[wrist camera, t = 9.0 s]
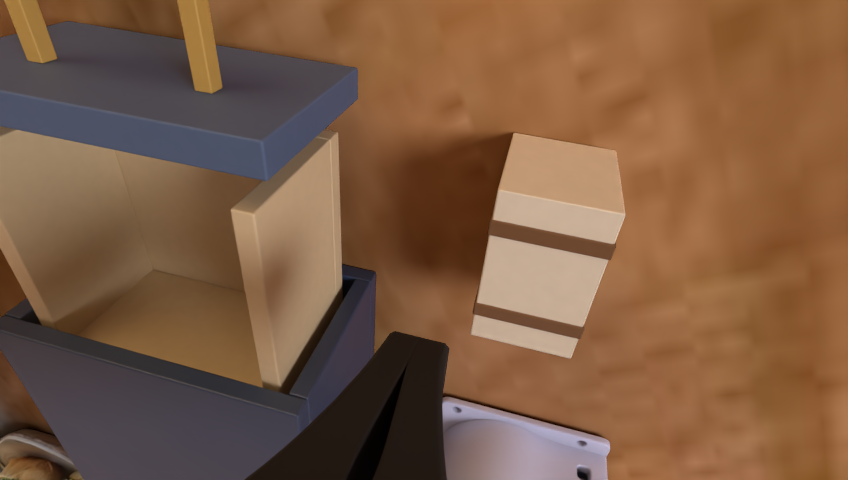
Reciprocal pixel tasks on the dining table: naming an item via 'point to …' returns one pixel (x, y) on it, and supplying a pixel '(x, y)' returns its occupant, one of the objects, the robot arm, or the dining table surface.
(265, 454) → the cabinet
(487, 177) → the dining table surface
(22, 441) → the salad plate
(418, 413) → the robot arm
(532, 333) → the bundle
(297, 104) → the drawer
